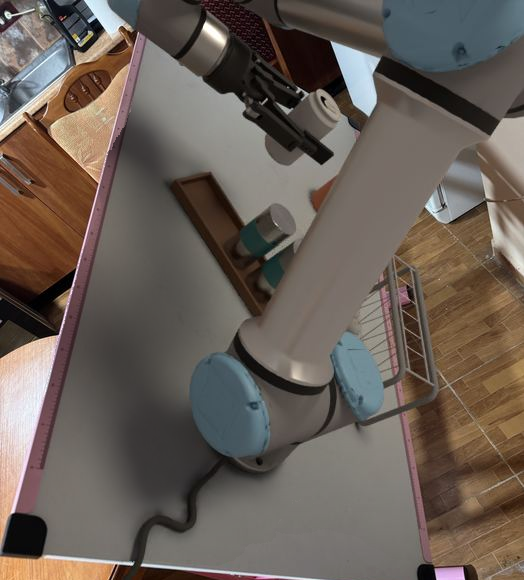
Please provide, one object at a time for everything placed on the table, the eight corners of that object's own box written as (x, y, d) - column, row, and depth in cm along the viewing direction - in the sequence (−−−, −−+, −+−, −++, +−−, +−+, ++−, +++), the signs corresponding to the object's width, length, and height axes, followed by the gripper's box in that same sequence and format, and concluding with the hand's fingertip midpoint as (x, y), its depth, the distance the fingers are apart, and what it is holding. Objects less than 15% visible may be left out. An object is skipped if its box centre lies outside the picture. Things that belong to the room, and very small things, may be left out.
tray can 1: (236, 273, 98) (284, 238, 90) (217, 244, 97) (264, 206, 90) (255, 264, 102) (301, 230, 95) (236, 236, 102) (282, 199, 94)
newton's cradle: (359, 430, 105) (442, 398, 94) (321, 412, 99) (404, 377, 88) (349, 302, 121) (418, 263, 110) (315, 281, 115) (385, 237, 104)
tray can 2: (258, 307, 98) (308, 275, 90) (239, 278, 98) (287, 243, 90) (275, 296, 103) (323, 265, 95) (257, 268, 102) (304, 234, 95)
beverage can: (261, 128, 93) (313, 78, 85) (288, 149, 97) (341, 103, 89) (262, 155, 90) (316, 105, 82) (290, 175, 93) (345, 129, 86)
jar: (323, 222, 128) (361, 194, 121) (307, 195, 127) (343, 167, 120) (335, 216, 133) (372, 189, 126) (320, 190, 133) (356, 163, 126)
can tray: (255, 320, 97) (263, 315, 96) (169, 185, 95) (175, 179, 94) (284, 301, 105) (291, 296, 103) (204, 177, 103) (210, 171, 102)
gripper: (201, 35, 86) (305, 120, 99) (196, 117, 76) (313, 199, 89) (232, -4, 81) (337, 91, 95) (231, 78, 71) (349, 171, 85)
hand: (325, 144), depth 92 cm, fingers closed on beverage can, 6 cm apart
